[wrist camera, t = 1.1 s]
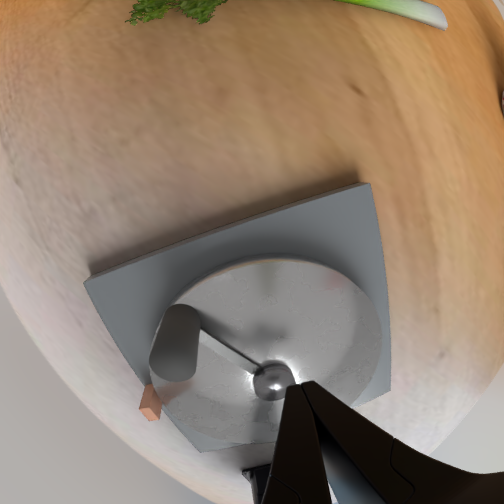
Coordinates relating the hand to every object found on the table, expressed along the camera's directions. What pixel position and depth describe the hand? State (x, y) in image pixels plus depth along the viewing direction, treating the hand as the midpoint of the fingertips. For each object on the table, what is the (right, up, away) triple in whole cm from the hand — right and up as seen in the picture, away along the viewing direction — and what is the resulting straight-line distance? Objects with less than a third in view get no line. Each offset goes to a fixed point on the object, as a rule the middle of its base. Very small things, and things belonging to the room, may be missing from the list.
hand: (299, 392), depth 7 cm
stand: (0, -4, +15) cm, 15 cm away
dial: (0, -4, +13) cm, 14 cm away
